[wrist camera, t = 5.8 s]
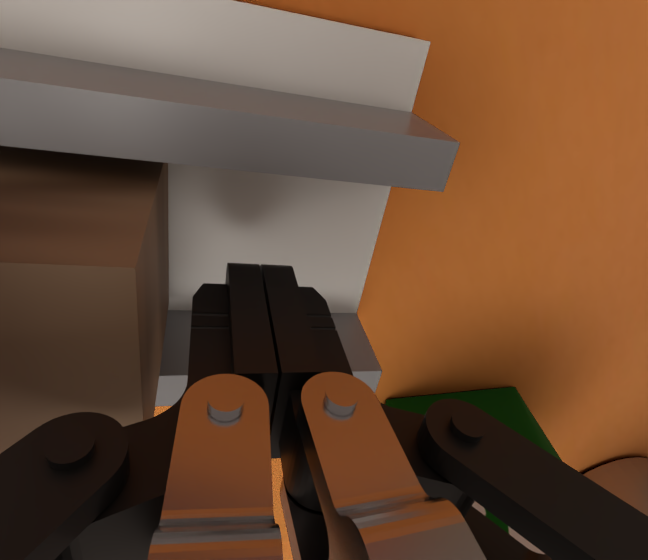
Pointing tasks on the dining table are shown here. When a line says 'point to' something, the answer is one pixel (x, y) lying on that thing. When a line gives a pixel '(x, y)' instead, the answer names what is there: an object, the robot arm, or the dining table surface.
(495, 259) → the dining table surface
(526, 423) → the milk carton
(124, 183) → the block
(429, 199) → the dining table surface
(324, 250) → the chute
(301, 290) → the robot arm
